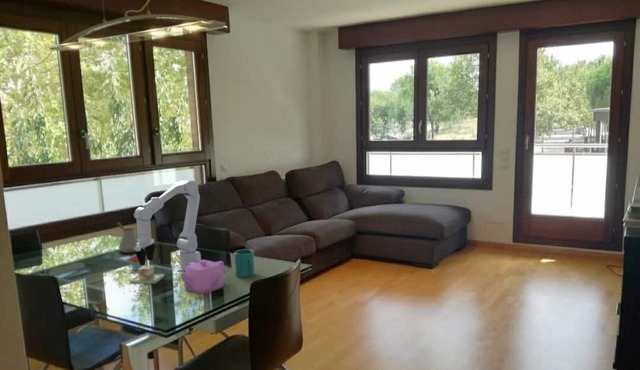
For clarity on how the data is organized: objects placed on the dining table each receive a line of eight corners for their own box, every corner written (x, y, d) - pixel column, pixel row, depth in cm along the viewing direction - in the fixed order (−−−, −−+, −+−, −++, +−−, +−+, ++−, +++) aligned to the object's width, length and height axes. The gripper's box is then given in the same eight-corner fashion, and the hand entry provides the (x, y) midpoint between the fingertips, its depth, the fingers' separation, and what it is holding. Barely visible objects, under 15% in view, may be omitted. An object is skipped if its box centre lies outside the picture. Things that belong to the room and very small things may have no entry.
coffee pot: (143, 251, 270) (141, 225, 268) (123, 255, 262) (121, 228, 261) (129, 244, 286) (128, 220, 284) (110, 248, 278) (108, 223, 276)
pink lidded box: (226, 280, 214) (224, 254, 212) (222, 293, 197) (221, 265, 196) (187, 283, 212) (186, 256, 210) (181, 296, 195) (179, 267, 194)
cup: (245, 281, 213) (243, 256, 212) (231, 275, 222) (230, 251, 221) (261, 276, 219) (261, 253, 217) (248, 270, 228) (247, 248, 226)
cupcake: (141, 271, 231) (139, 247, 230) (125, 270, 233) (123, 247, 231) (150, 266, 239) (149, 243, 238) (135, 265, 241) (133, 242, 240)
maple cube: (154, 276, 220) (153, 265, 219) (149, 279, 215) (148, 269, 215) (144, 276, 221) (143, 265, 220) (139, 279, 216) (138, 269, 215)
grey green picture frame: (164, 276, 222) (164, 274, 222) (155, 283, 212) (155, 281, 212) (140, 276, 223) (140, 273, 223) (129, 283, 214) (129, 280, 213)
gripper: (143, 230, 223) (145, 257, 225) (128, 237, 208) (130, 267, 210) (157, 229, 222) (159, 257, 224) (143, 237, 208) (145, 267, 210)
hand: (146, 262), depth 217 cm, fingers open, 7 cm apart
